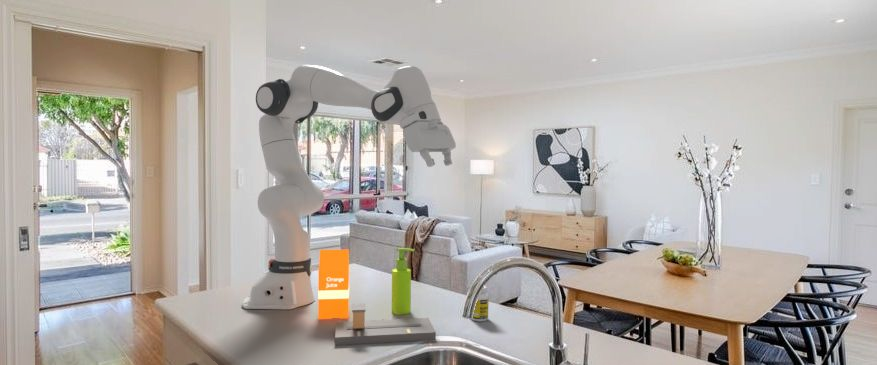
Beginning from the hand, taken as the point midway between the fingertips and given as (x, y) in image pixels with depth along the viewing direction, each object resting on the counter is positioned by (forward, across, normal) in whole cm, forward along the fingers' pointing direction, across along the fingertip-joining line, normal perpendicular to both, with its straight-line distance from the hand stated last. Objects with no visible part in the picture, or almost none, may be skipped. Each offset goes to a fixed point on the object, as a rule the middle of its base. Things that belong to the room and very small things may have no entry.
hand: (440, 165), depth 134 cm
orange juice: (+30, +8, -48) cm, 57 cm away
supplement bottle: (+45, -13, -12) cm, 49 cm away
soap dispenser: (+36, -6, -34) cm, 50 cm away
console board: (+38, +13, -26) cm, 49 cm away
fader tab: (+34, +18, -30) cm, 49 cm away
